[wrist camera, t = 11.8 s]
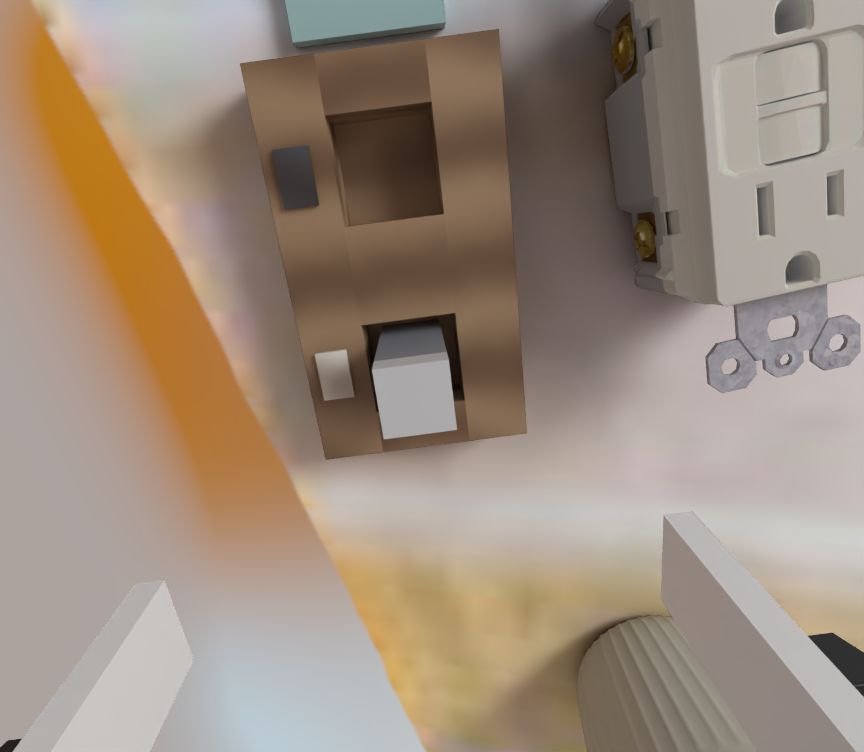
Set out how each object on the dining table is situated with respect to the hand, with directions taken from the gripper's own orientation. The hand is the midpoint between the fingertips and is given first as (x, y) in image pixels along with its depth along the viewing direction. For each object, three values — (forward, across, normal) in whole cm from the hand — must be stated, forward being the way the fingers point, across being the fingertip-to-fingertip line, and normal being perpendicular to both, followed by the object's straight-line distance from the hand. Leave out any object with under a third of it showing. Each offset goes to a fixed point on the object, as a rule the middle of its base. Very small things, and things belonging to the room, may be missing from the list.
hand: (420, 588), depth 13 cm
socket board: (+24, 0, +6) cm, 25 cm away
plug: (+24, 0, 0) cm, 24 cm away
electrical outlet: (+25, +20, +12) cm, 34 cm away
